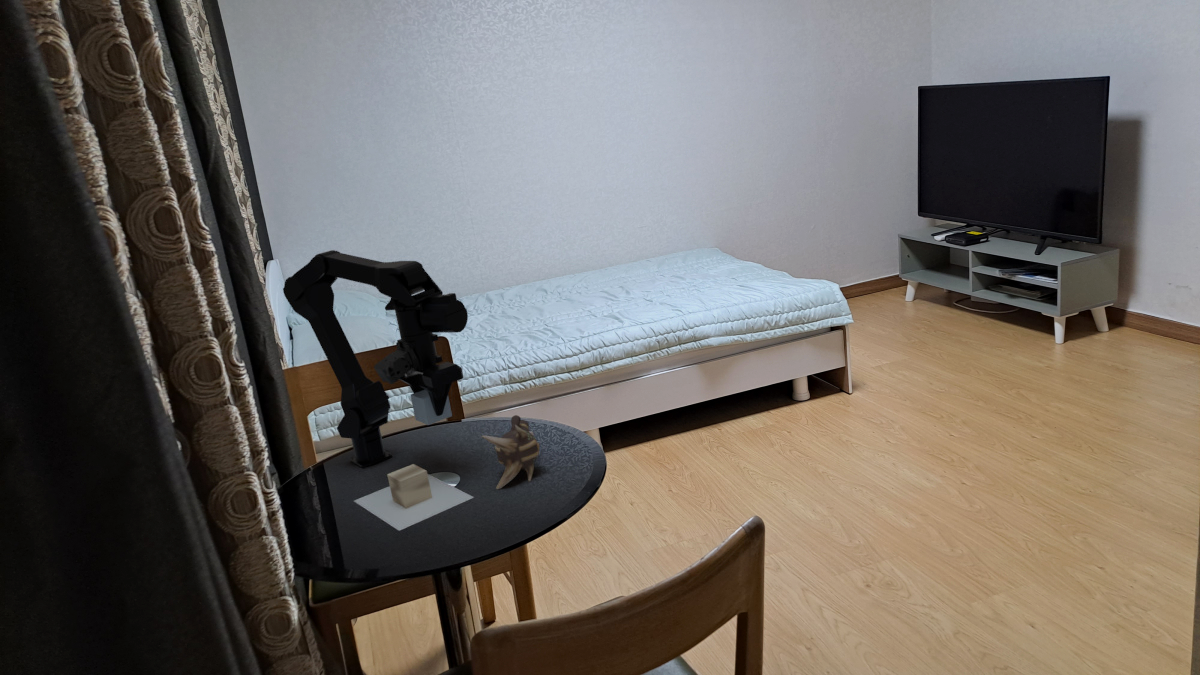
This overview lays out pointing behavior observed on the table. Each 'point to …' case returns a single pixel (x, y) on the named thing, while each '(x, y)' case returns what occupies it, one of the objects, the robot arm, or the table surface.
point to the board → (405, 517)
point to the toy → (516, 450)
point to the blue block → (428, 408)
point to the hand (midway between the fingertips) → (432, 412)
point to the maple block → (409, 486)
